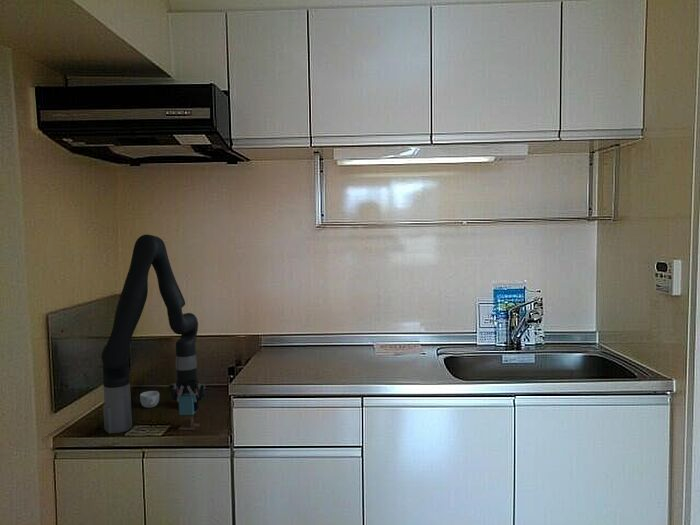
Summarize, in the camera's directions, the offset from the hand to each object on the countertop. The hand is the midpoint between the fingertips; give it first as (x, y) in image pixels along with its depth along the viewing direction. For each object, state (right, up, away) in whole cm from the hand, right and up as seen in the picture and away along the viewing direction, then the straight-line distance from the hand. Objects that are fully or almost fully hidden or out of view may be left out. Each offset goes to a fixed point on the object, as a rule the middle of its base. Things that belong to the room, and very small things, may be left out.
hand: (188, 410), depth 219 cm
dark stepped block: (0, -6, 0) cm, 7 cm away
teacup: (-23, -5, +25) cm, 35 cm away
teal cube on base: (0, -1, 0) cm, 1 cm away
